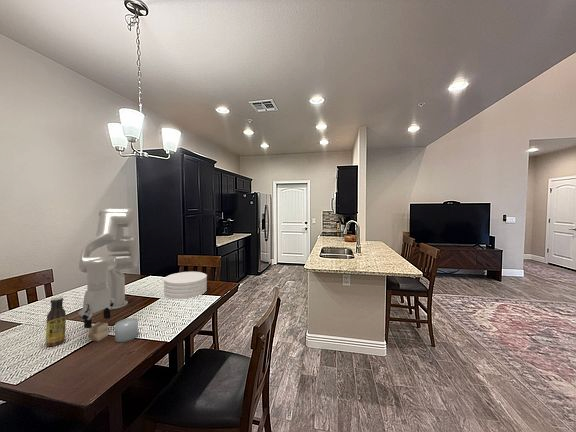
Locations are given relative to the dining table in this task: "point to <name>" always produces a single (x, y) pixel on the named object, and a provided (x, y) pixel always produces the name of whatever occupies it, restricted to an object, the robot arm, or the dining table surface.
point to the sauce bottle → (56, 323)
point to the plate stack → (185, 285)
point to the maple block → (98, 331)
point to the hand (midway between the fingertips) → (97, 322)
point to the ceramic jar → (126, 329)
